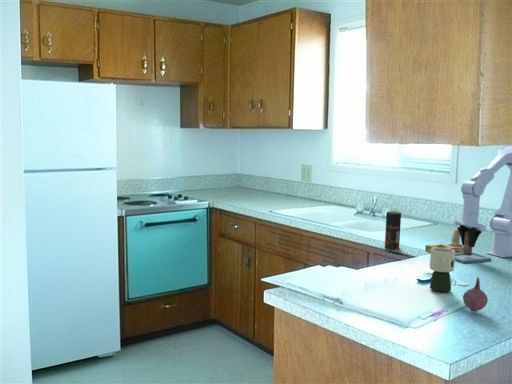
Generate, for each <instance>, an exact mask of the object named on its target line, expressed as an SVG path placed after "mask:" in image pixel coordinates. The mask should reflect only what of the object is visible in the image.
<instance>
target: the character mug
mask: <svg viewBox="0 0 512 384" xmlns="http://www.w3.org/2000/svg"><path fill="white" fill-rule="evenodd" d="M455 262H456V261H455V250H452V249H448V248H439V247H437V248H431V253H430V258H429V269H430V270H431V271H433V272H432V274H431V279H430V284H429V289H431V290H432V291H433V290H434V291H438V292H439V293H442V292H445V293H447V292H448V293H449V292H451V291H452V282H451V274H450V272H454V271H455V264H456V263H455Z"/></svg>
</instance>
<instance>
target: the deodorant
mask: <svg viewBox="0 0 512 384" xmlns="http://www.w3.org/2000/svg"><path fill="white" fill-rule="evenodd" d="M401 220H402V212H399V211H387V212H386V217H385V235H384V236H385V237H384V248H385V249H388V250H400V243H401V242H400V241H401V240H400V239H401V237H400V236H401V222H402V221H401Z"/></svg>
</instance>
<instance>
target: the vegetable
mask: <svg viewBox="0 0 512 384" xmlns="http://www.w3.org/2000/svg"><path fill="white" fill-rule="evenodd" d="M475 278H476V280H475V281H476V282H475V285H474V286H473V287H471V288H470V289H468V290H466V291H465V292H464V293H463V296H462V301H463V304H464V306H466V307H467V308H468V309H470V311H471V312H473V313H477V312H478V311H481V310H483V309H484V308H485V307H486V306H487V304H488V296H487V294H486V293H485V291H483V290H482V289H481V288H480V287H481V285H480V284H481V283H480V277H479V276H476V277H475Z"/></svg>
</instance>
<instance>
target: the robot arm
mask: <svg viewBox="0 0 512 384" xmlns="http://www.w3.org/2000/svg"><path fill="white" fill-rule="evenodd" d="M504 166H506V167H507V168H508V169H509V171H510V172H509V175H508V179H507V184H506V187H505V190H504V194H503V198H502V202H501V205H500V207H499V208H498V209H497V210H495V211H494V212H493V215H492V216H491V218H490V220H489V227H490V230H491V232H492V233H493V235H492V247H491V251H487V252H486V254H489V255H493V256H496V257H498V258H499V257H500V258H509V257H511V258H512V146H510V145H509V146H508V145H502V147H501V148H500V149H499V150H498V152H497V155H496V157H495V158H494V159H493V160H492V161H491V162H490V163H489V165H488V166H487V167H482V168H480V169H479V170H478V172H476V173H475V174H474V175H473V176H472V177H471V178H470V179H468V180H465V181H463V183H462V185H461V187H460V191H461V195H462V199H463V204H462V205H463V206H462V219H454V222H453V225H455V226H457V228H456V229H458V231H459V233H460V241H461V244H462V245H464V238H465V231H468V235H469V247H472V248H475V246H476V243H477V241H478V239H479V237H480V235H481V234H482V232H487V225H483V224H481V223H479V213H480V200H481V196H482V195H483V194H484V192H485V189H486V187H487V185H488V184H490V183H491V181H493V180H494V178H495V173H497V172H498V171H499V170H500V169H501V168H503V167H504Z"/></svg>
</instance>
